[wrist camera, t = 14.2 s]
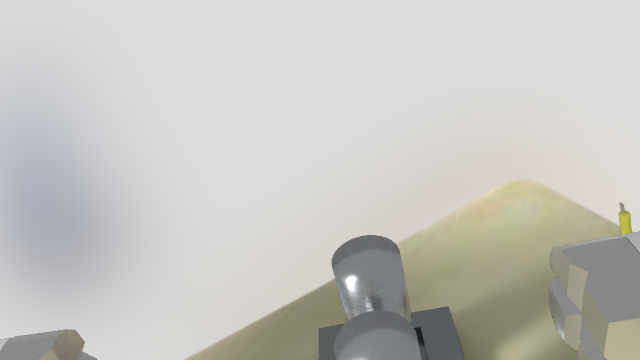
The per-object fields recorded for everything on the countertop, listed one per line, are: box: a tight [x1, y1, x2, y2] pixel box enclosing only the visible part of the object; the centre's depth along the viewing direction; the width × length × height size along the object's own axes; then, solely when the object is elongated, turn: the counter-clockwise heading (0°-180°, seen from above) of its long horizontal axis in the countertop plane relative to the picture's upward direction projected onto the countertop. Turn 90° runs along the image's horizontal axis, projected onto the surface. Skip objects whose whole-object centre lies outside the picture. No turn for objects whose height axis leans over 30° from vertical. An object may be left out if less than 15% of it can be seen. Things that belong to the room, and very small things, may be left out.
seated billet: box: [332, 235, 413, 326], centre depth 36 cm, size 4×4×12 cm
